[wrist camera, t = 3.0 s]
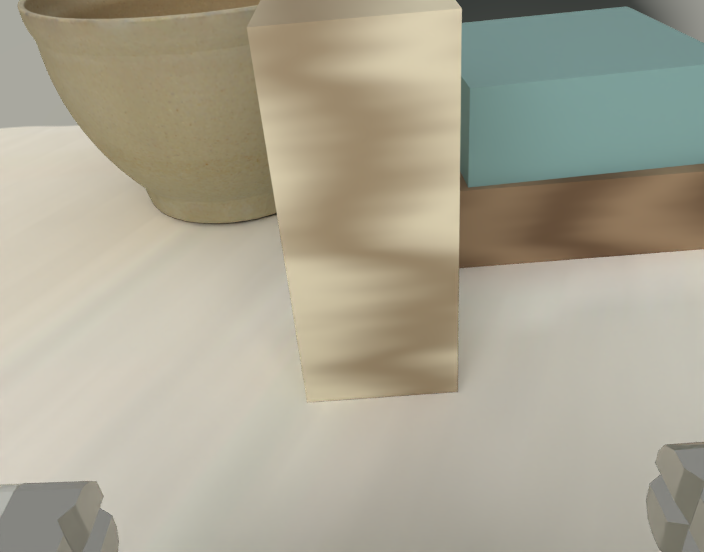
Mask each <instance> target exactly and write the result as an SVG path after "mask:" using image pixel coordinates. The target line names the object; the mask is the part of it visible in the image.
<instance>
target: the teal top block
mask: <svg viewBox="0 0 704 552" xmlns="http://www.w3.org/2000/svg"><path fill="white" fill-rule="evenodd" d="M694 164H704V43H702V42H700V41H698V40H696V39H694V38H692V37H690V36H688V35H686V34H684V33H682V32H679V31H677V30H675V29H673V28H671V27H669V26H667V25H665V24H663V23H661V22H659V21H657V20H655V19H652V18H650V17H648V16H646V15H644V14H642V13H640V12H638V11H636V10H633V9H632V8H629V7H617V8H608V9H598V10H587V11H577V12H568V13H557V14H547V15H537V16H527V17H517V18H507V19H497V20H487V21H478V22H467V23H462V34H461V125H460V172H461V174H462V176H463V178H464V180H465V182H466V184H467V186H468V188H469V187H479V186H489V185H499V184H508V183H518V182H528V181H538V180H548V179H557V178H567V177H577V176H587V175H596V174H606V173H616V172H626V171H635V170H645V169H655V168H665V167H674V166H684V165H694Z"/></svg>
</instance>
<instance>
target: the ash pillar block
mask: <svg viewBox="0 0 704 552" xmlns="http://www.w3.org/2000/svg"><path fill="white" fill-rule="evenodd" d="M247 32H248V39H249V45H250V51H251V57H252V63H253V70H254V76H255V82H256V88H257V94H258V101H259V107H260V113H261V119H262V125H263V132H264V138H265V144H266V150H267V156H268V163H269V169H270V175H271V181H272V187H273V193H274V200H275V206H276V212H277V218H278V224H279V231H280V237H281V243H282V249H283V255H284V262H285V268H286V274H287V280H288V286H289V293H290V299H291V305H292V311H293V317H294V324H295V330H296V336H297V342H298V348H299V355H300V361H301V367H302V373H303V379H304V385H305V392H306V398H307V402H320V401H334V400H348V399H362V398H376V397H390V396H404V395H418V394H432V393H446V392H458V306H459V216H460V125H461V34H462V8H461V7H460V6H459V4H458V3H457V1H456V0H260V2H259V4H258V6H257V8H256V10H255V12H254V14H253V16H252V18H251V20H250V22H249V24H248V26H247Z"/></svg>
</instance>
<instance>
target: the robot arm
mask: <svg viewBox="0 0 704 552" xmlns="http://www.w3.org/2000/svg"><path fill="white" fill-rule="evenodd" d="M655 464H656V466H657V468H658V470H659V472H660V474H661V475H659V476H658V477H657V478H656V479H655V480H653V481H652V482H651V483H650V484H649V488H648V493H647V498H646V504H647V516H648V521H649V525H650V528H651V531H652V534H653V537H654V539H655V541H656V544H657V546H658V548H659V550H660V551H661V552H704V442H694V443H681V444H667V445H664V446H663V447H662V448H661V449H660V450H659V451H658V454H657V458H656V461H655ZM103 497H104V496H103V494H102V491H101V489H100V487H99V485H98V483H97V481H78V482H49V483H23V484H4V485H0V552H118V545H119V539H118V532H117V526H116V524H115V521H114V519H113V516H112V515H110V514H109V513H107V512H106V511H104V510H102V509H101V508H100V506H101V503H102V500H103Z"/></svg>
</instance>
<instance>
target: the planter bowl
mask: <svg viewBox="0 0 704 552" xmlns="http://www.w3.org/2000/svg"><path fill="white" fill-rule="evenodd" d="M259 2H260V0H19V2H18V9H19V12H20V15H21V17H22V20H23V22H24V24H25V26H26V28H27V30H28V31H29V33H30V34H31V35H32V36H33V38H34V39H35V41H36V43H37V45H38V48H39V51H40V53H41V56H42V59H43V62H44V64H45V67H46V69H47V71H48V74H49V76H50V78H51V80H52V82H53V84H54V86H55V88H56V90H57V92H58V94H59V95H60V97H61V99H62V101H63V103H64V104H65V106H66V107H67V109H68V110H69V112H70V114H71V115H72V117H73V118H74V119H75V121H76V122H77V124H78V125H79V126H80V127H81V129H82V130H83V131H84V132H85V134H86V135H87V136H88V137H89V138H90V140H91V141H92V142H93V143H94V144H95V145H96V146H97V147H98V148H99V150H100V151H101V152H102V153H103V154H104V155H105V156H106V157H107V158H109V159H110V160H111V161H112V162H113V163H114V164H115V165H116V166H117V167H118V168H119V169H121V170H122V171H123V172H124V173H125V174H127V175H128V176H129V177H131V178H132V179H133V180H135V181H136V182H137V183H139V184H140V185H142V186H143V187H145V188H146V190H147V192H148V194H149V196H150V198H151V200H152V202H153V204H154V205H155V206H156V207H157V208H158V209H159V210H160V211H161V212H163V213H164V214H166V215H168V216H171V217H173V218H176V219H180V220H184V221H189V222H197V223H230V222H240V221H246V220H252V219H257V218H261V217H265V216H268V215H271V214H275V213H277V212H276V206H275V200H274V193H273V187H272V181H271V175H270V169H269V163H268V156H267V150H266V144H265V138H264V132H263V125H262V119H261V113H260V107H259V101H258V94H257V88H256V82H255V76H254V70H253V63H252V57H251V51H250V45H249V39H248V32H247V26H248V24H249V22H250V20H251V18H252V16H253V14H254V12H255V10H256V8H257V6H258V4H259Z"/></svg>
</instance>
